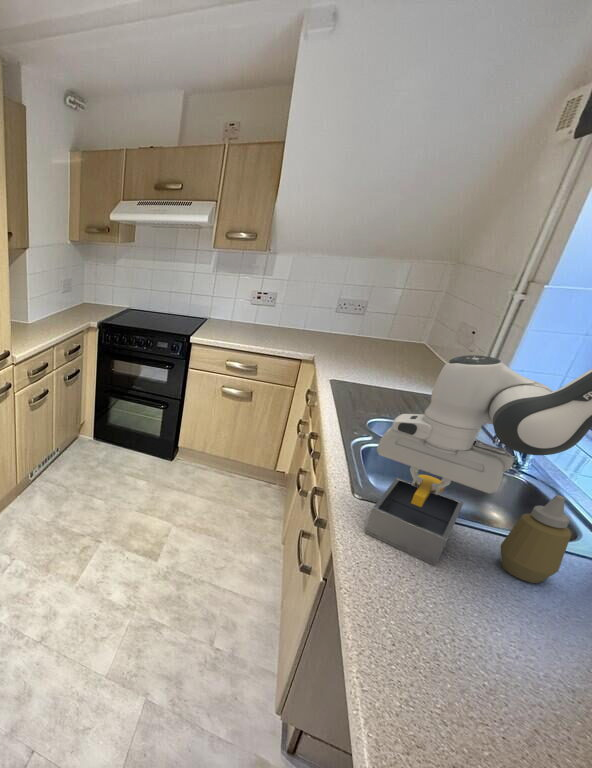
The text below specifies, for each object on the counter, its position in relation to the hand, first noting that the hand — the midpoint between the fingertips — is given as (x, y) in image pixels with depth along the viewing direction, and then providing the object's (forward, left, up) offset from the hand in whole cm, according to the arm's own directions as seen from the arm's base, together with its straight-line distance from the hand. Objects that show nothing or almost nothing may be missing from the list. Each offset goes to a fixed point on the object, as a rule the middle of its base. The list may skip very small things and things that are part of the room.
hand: (424, 489), depth 89 cm
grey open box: (0, 0, -11) cm, 11 cm away
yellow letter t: (-1, -1, -2) cm, 2 cm away
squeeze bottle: (-16, +8, -11) cm, 21 cm away
